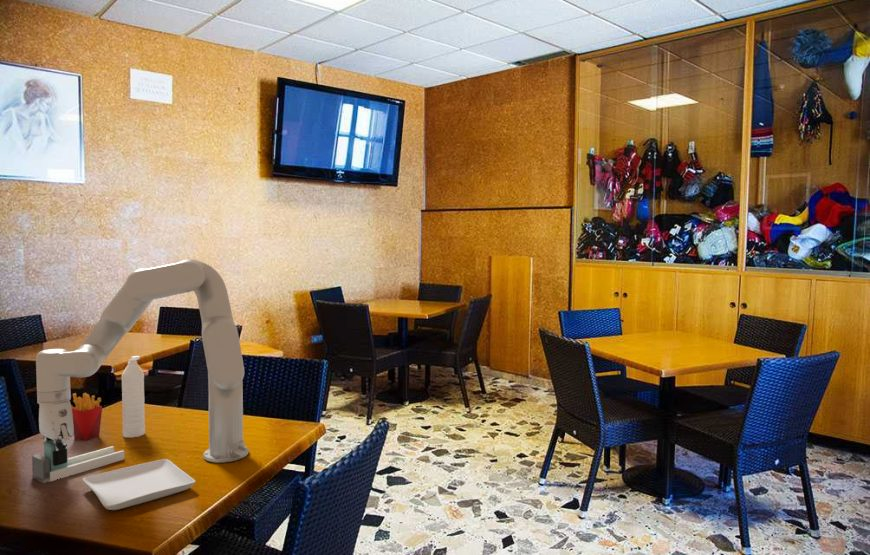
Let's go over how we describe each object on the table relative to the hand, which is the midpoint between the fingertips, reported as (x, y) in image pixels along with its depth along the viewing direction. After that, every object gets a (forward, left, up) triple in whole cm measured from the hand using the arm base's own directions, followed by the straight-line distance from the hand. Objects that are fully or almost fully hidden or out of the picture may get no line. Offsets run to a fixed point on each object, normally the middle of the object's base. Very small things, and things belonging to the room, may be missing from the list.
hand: (56, 461), depth 158 cm
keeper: (0, 0, -2) cm, 2 cm away
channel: (0, -6, -4) cm, 7 cm away
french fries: (+23, -18, -4) cm, 29 cm away
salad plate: (-27, -8, -4) cm, 29 cm away
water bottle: (+16, -30, -4) cm, 34 cm away
